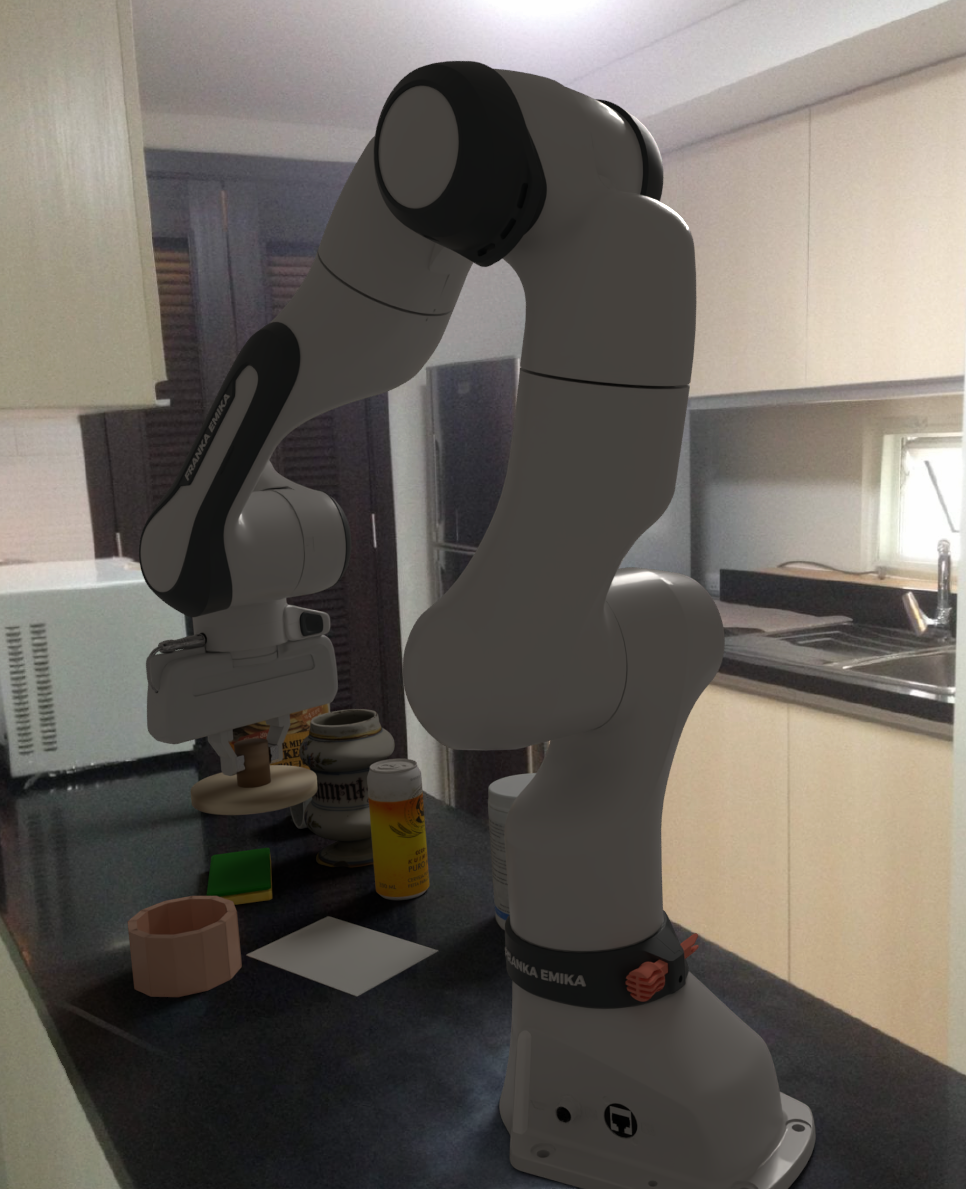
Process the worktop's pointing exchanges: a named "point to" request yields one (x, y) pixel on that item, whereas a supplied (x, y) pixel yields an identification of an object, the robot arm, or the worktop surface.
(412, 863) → the beer can
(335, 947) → the mat
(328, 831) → the apothecary jar
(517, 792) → the supplement tub
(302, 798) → the lid
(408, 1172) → the worktop surface
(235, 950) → the bowl
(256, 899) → the dish sponge
